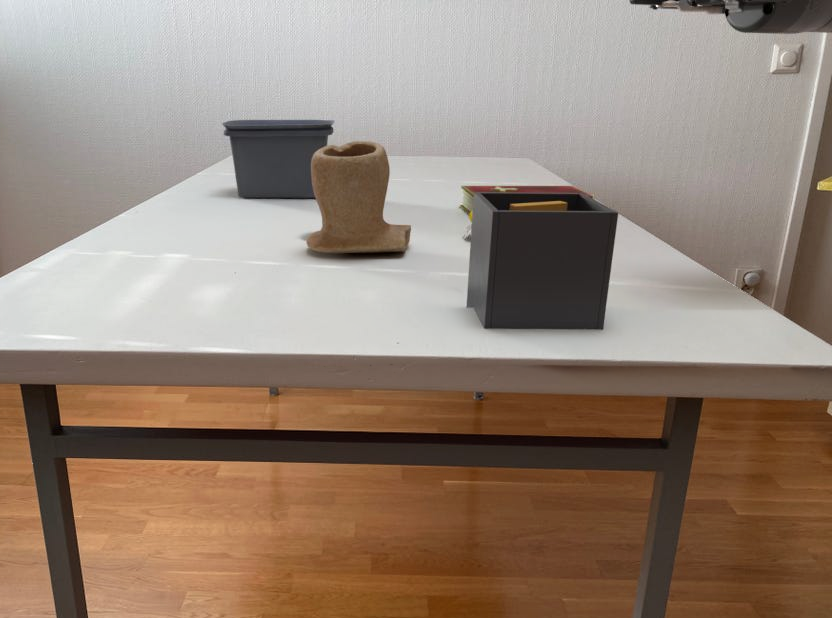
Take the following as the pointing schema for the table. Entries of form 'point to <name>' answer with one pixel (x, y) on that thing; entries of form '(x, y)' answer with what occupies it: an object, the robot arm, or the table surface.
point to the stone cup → (354, 200)
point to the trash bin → (540, 261)
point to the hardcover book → (469, 191)
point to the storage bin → (275, 155)
